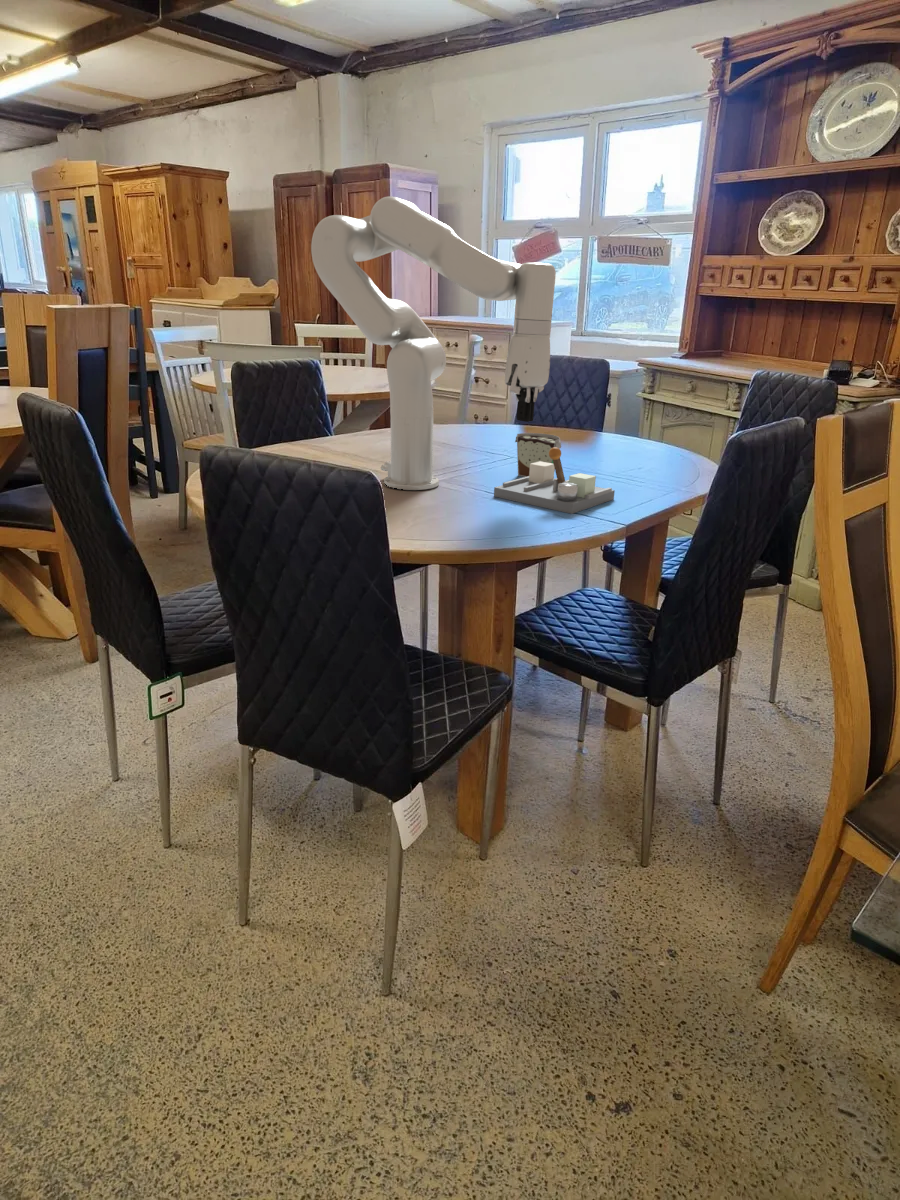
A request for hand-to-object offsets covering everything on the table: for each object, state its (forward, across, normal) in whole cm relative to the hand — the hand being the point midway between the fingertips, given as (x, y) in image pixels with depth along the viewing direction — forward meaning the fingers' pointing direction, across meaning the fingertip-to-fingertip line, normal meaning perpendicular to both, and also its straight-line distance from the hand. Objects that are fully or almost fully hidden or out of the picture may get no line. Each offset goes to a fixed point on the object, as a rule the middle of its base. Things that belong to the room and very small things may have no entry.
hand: (524, 420), depth 161 cm
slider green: (+14, -3, +14) cm, 20 cm away
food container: (+16, -19, -7) cm, 26 cm away
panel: (+16, -4, +7) cm, 18 cm away
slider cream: (+14, -8, +1) cm, 16 cm away
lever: (+13, -4, +9) cm, 16 cm away
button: (+14, +2, +14) cm, 20 cm away
